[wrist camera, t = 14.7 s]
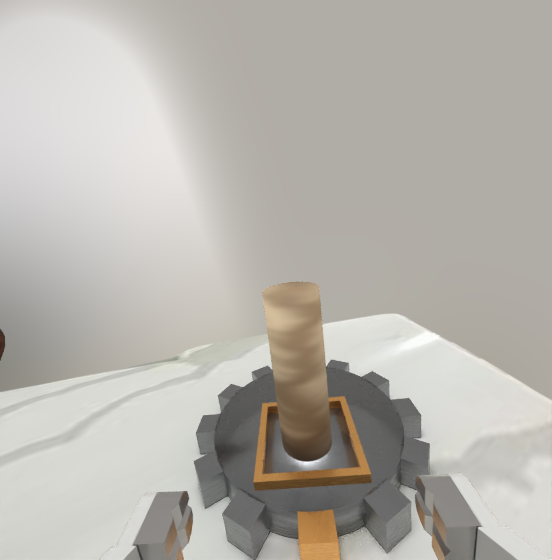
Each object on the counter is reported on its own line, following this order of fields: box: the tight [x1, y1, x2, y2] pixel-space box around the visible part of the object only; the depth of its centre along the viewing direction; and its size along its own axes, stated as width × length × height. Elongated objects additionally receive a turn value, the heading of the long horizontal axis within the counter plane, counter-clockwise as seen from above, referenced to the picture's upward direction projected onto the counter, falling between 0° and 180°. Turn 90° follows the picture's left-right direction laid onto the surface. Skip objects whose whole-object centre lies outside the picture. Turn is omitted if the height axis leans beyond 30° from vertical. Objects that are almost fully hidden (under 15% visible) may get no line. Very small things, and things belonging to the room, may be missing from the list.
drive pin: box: [262, 282, 332, 462], centre depth 22 cm, size 4×4×14 cm
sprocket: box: [194, 360, 430, 560], centre depth 27 cm, size 22×22×3 cm
